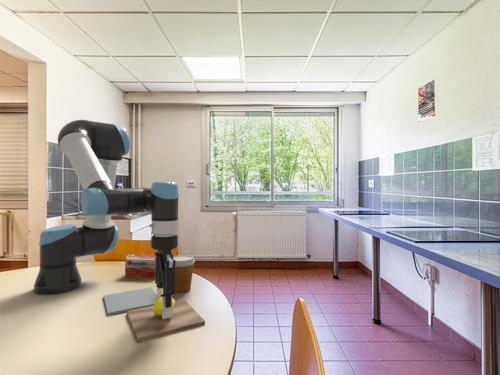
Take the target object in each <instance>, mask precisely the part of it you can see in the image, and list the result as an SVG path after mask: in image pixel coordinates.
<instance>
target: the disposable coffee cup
mask: <svg viewBox="0 0 500 375" xmlns="http://www.w3.org/2000/svg"><path fill="white" fill-rule="evenodd" d="M173 260H175V261H176V263H175V293H187V292H189V291H190V290H191V287H192V279H193V271H194V264H195V262H196V260H195V257H194V256H193V255H187V254H182V255H181V254H180V255H173Z"/></svg>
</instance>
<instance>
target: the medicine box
mask: <svg viewBox="0 0 500 375" xmlns="http://www.w3.org/2000/svg"><path fill="white" fill-rule="evenodd" d="M124 264H125V265H124V269H125V270H124V273H125V277H127V278H147V279H150V278H153V279H155V254H134V255H132V256H129V257H128V258H125V262H124Z"/></svg>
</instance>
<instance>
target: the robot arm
mask: <svg viewBox="0 0 500 375" xmlns="http://www.w3.org/2000/svg"><path fill="white" fill-rule="evenodd" d="M130 140H131V139H130V136H129V133H128V131H127V129H126V128H125V127H123V126H121V125H118V124H114V123H107V122H100V121H92V120H86V119H77V120H73V121H72V120H71V121H70V122H68V123H66V124H65V125H64V126H63V127H62V128H61V129H60V131H59V132H58V135H57V145H58V147H59V149H60V151H61V153H62V154H64V155H65V156H67V158H68V160H69V162H70V165H71V167H72V168H73V170H74V173H75V174H76V176H77V178H78V181H79V182H80V185H81V187H82V189H83V190H82V191H81V195H80V200H79V201H80V206H81V211H82V213H83V214H84V215H86V216H87V218H85V219H84V220H83V221H82V226H81V227H78V226H77V225H76V224H62V225H56V226H51V227H49V228H46V229H44V230H42V231H41V232H40V234H39V242H38V246H39V269H38V274H37V276H36V279H35V282H34V285H33V292H34V293H35V294H37V295H54V294H55V295H56V294H61V293H66V292H69V291H72V290H75V289H77V288H79V287H81V285H82V277H81V274H80V271H79V269H78V266H77V258H80V257H82V258H83V257H87V256H93V255H99V254H100V255H102V254H106V253H110V252H112V251H113V250H115V248H116V247H117V245H118V242H119V238H120V237H119V229H118V227H117V225H115V222H114V220H112V216H113V215H120V214H121V215H122V214H123V215H125V214H138V213H150V214H151V215H150V216H151V219H150V220H151V223H150V224H148V226H149V228H151V234H152V236H151V237H150V238H151V239H150V248H151V249H153V250H155V252H154V255H155V278H154V280H155V281H154V283H155V284H156V285H155V287H156V295H157V299H159V298H160V297H162V319H166V318H170V317H172V298H173V296H174V295H175V294H176V292H175V263H176V261H175V260H173V257H174V254H173V253H172V252H173V251H172V250H175V249H177V248H178V246H179V235H178V233H179V189H178V188H179V185H178V184H177V182H175V181H153V182H152V184H151V188H150V187H135V188H134V187H130V188H127V187H125V188H119V187H117V188H115V187H116V186H115V185H116V180H117V179H116V178H117V177H116V176H117V172H118V170H117V169H118V164H119V163H120V162H122V161H123V156H127V155H128V154H129V152H130V148H131V141H130Z"/></svg>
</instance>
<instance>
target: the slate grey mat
mask: <svg viewBox="0 0 500 375" xmlns="http://www.w3.org/2000/svg"><path fill="white" fill-rule="evenodd" d="M156 300H157V292H155V291H154V289H153V288H152V287H144V288H141V289H134V290H128V291H122V292H115V293H111V294H110V293H109V294H105V295H103V301H104V304H105V309H106V313H107V316H114V315H117V314H123V313H127V311H130V310H135V309H140V308H145V307H150V306H154V303H155V301H156Z"/></svg>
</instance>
